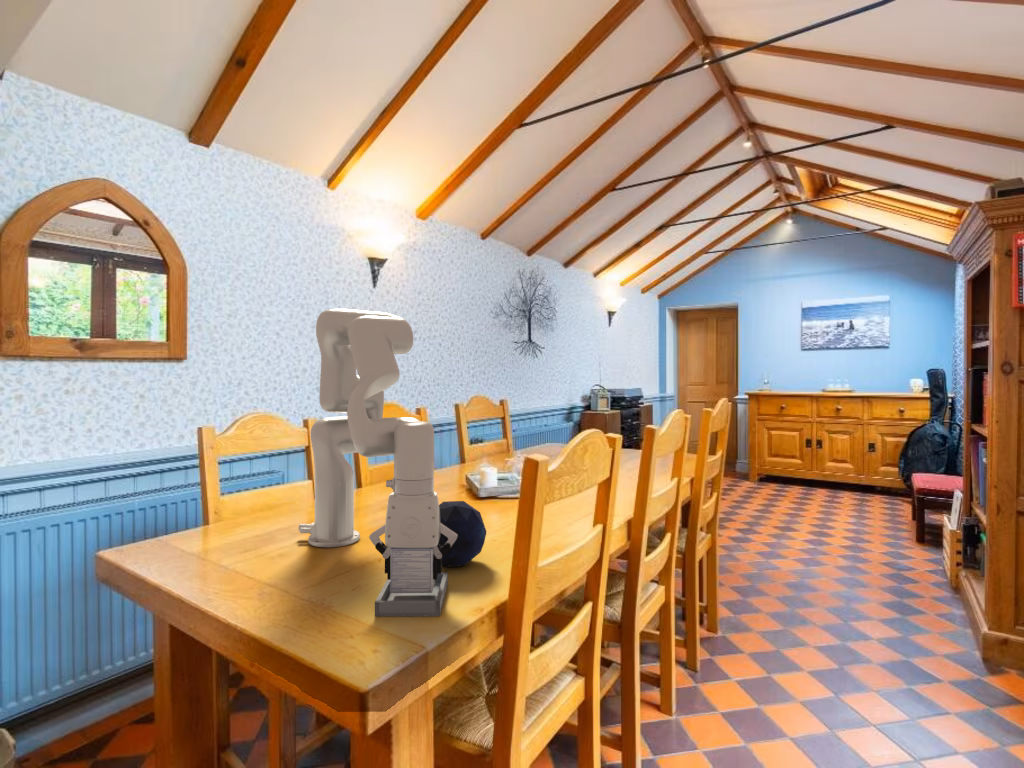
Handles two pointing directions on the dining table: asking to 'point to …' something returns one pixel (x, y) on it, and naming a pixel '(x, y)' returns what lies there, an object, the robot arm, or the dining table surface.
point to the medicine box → (412, 570)
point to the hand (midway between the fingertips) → (413, 576)
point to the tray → (412, 600)
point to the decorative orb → (461, 532)
